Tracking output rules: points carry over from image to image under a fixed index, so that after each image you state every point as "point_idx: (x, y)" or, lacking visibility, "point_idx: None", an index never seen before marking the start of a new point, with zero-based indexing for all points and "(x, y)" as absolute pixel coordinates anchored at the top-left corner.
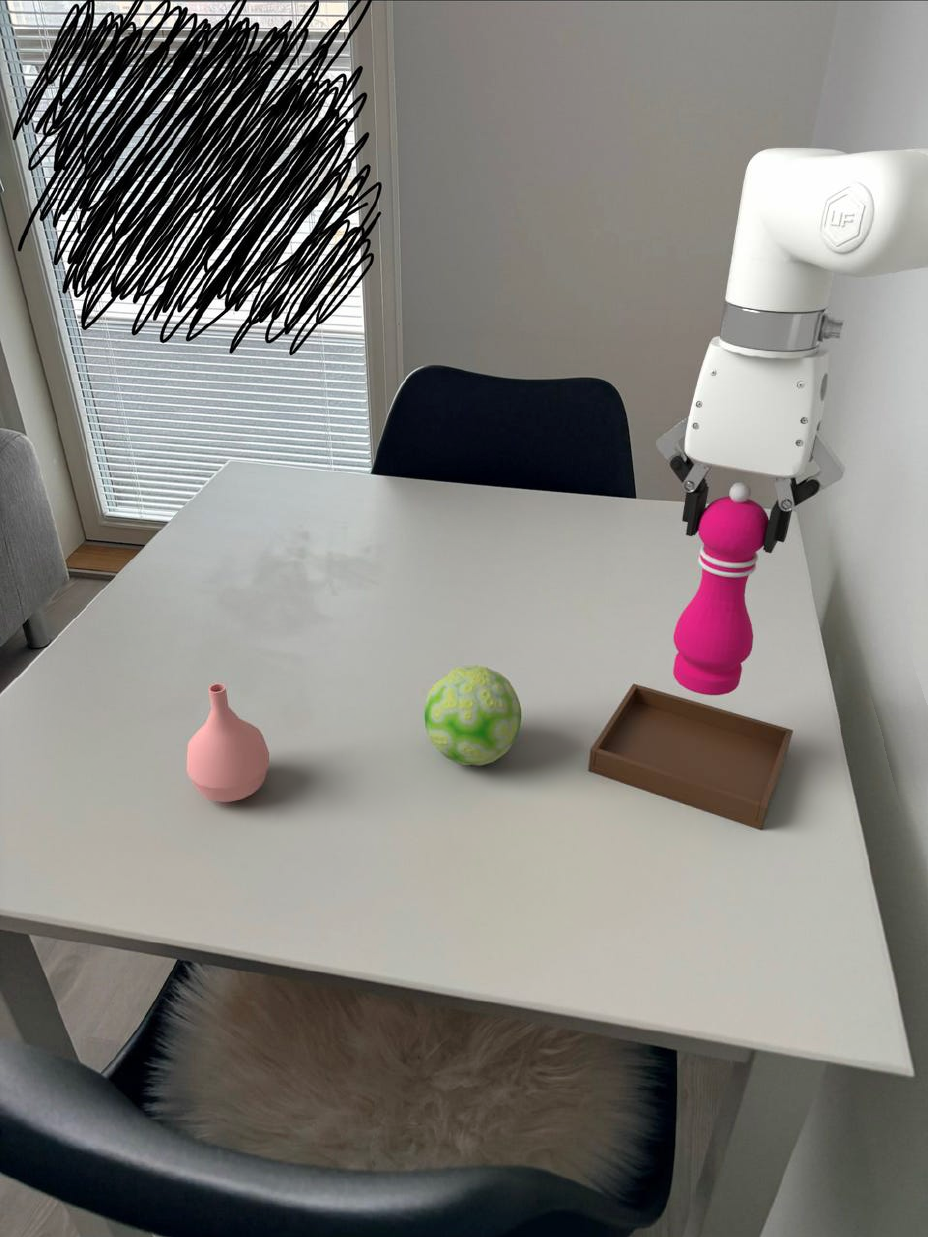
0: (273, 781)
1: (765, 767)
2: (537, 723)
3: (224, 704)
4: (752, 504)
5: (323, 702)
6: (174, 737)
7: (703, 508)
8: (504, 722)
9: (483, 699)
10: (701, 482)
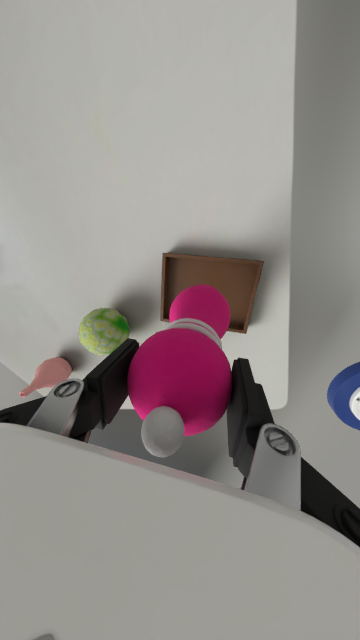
0: (71, 357)
1: (246, 287)
2: (131, 291)
3: (31, 391)
4: (194, 418)
5: (52, 312)
6: (32, 348)
7: (125, 369)
8: (119, 345)
9: (103, 350)
10: (87, 421)
